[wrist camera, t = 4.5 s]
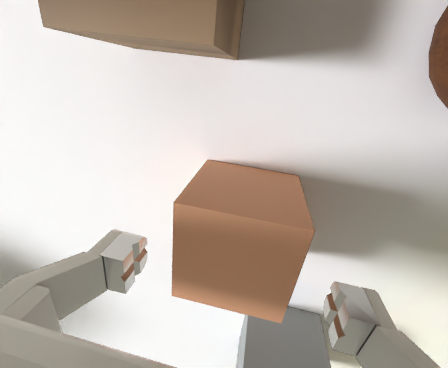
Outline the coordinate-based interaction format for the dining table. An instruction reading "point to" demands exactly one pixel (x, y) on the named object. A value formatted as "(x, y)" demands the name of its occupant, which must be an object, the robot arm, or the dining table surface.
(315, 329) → the slate grey block
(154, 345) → the dining table surface
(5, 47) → the dining table surface
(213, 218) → the terracotta block
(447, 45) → the wooden figurine
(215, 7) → the walnut block
